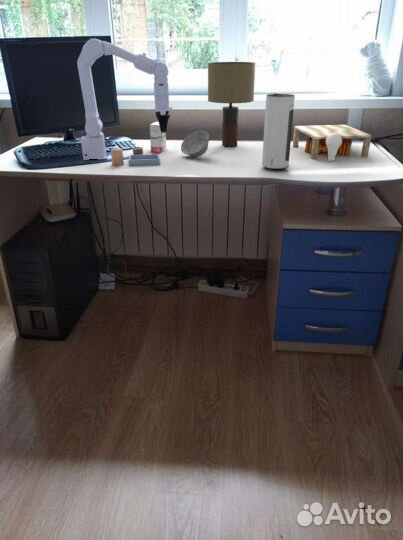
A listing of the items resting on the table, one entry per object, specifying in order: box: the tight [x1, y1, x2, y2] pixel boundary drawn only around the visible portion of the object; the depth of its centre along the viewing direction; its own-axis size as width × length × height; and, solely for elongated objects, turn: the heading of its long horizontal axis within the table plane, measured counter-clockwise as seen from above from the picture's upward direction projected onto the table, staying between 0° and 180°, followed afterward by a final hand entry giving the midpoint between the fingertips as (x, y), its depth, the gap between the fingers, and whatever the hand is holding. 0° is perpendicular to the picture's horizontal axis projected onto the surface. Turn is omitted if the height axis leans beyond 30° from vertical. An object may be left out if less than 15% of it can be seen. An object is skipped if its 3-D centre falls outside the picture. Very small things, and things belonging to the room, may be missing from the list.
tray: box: [128, 153, 161, 167], centre depth 170 cm, size 12×9×2 cm
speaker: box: [261, 92, 296, 170], centre depth 159 cm, size 11×10×26 cm
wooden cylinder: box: [110, 147, 125, 167], centre depth 167 cm, size 5×5×6 cm
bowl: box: [180, 130, 210, 158], centre depth 178 cm, size 13×13×5 cm
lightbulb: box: [326, 133, 342, 162], centre depth 167 cm, size 6×6×11 cm
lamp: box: [207, 61, 256, 148], centre depth 189 cm, size 20×20×35 cm
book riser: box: [292, 124, 372, 160], centre depth 184 cm, size 24×26×9 cm
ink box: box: [149, 121, 167, 154], centre depth 186 cm, size 9×5×12 cm, turn 168°
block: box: [132, 146, 144, 155], centre depth 177 cm, size 4×4×4 cm
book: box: [304, 136, 353, 156], centre depth 185 cm, size 18×13×5 cm
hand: (163, 130), depth 176 cm, fingers open, 7 cm apart
